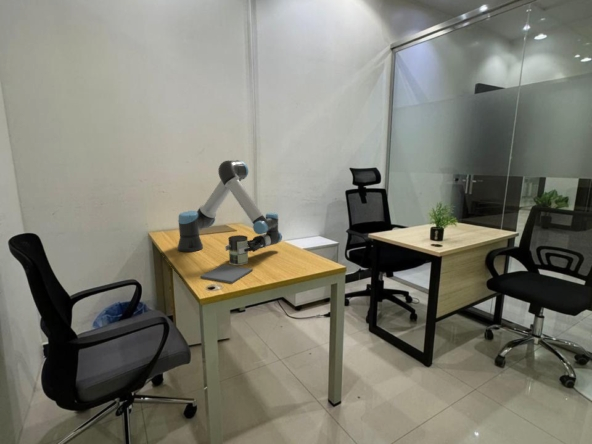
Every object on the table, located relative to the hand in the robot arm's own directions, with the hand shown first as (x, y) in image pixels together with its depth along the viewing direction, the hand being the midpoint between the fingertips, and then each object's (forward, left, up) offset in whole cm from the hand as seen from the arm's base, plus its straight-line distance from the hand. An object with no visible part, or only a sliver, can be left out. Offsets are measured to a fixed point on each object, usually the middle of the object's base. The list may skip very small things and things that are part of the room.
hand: (232, 249), depth 167 cm
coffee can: (+1, +4, -8) cm, 9 cm away
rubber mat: (+6, -14, -8) cm, 17 cm away
